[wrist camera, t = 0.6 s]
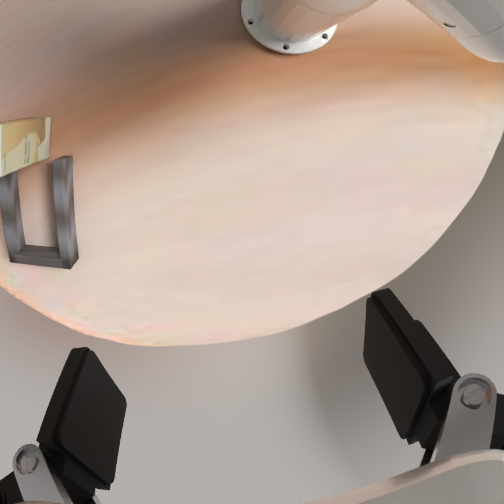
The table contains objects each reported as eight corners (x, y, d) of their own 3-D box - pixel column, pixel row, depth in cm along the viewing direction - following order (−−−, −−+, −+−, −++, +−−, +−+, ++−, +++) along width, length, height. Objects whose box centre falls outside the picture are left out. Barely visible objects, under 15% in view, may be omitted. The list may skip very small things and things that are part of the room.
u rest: (9, 157, 35) (-3, 163, 32) (72, 155, 37) (61, 160, 34) (20, 252, 42) (10, 262, 39) (78, 258, 44) (70, 269, 41)
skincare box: (50, 158, 36) (2, 180, 26) (27, 157, 36) (-22, 180, 25) (52, 114, 34) (1, 123, 23) (28, 115, 33) (-23, 126, 22)
